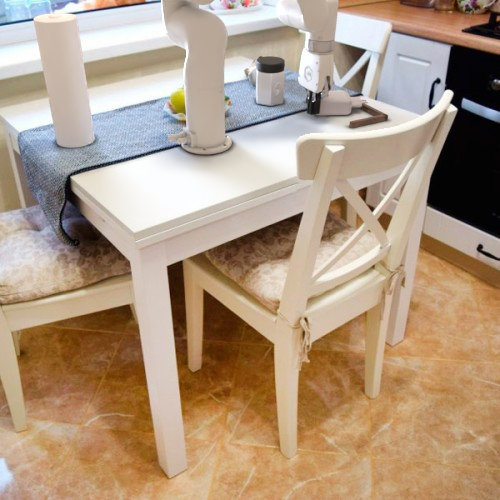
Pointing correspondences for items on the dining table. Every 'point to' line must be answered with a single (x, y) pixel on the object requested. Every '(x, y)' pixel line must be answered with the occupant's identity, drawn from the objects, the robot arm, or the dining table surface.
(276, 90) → the jar
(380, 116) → the brown bent bar
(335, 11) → the robot arm
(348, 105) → the charger
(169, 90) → the dining table surface
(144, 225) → the dining table surface
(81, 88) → the cylinder container
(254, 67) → the ceramic sculpture
